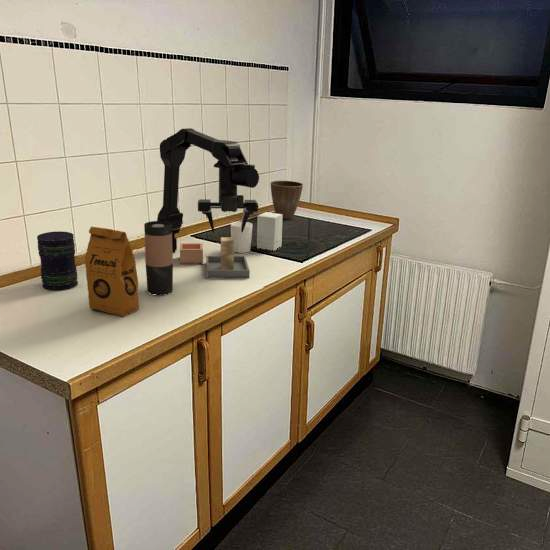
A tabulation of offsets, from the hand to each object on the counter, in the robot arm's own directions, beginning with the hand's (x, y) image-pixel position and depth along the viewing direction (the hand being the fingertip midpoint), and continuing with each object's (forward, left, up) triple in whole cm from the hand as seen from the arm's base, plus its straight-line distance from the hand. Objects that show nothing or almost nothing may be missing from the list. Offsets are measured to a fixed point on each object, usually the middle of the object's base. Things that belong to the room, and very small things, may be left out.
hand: (227, 232), depth 171 cm
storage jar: (-50, -12, -13) cm, 53 cm away
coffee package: (-32, -31, -13) cm, 46 cm away
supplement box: (+17, +26, -13) cm, 34 cm away
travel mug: (-21, -18, -13) cm, 30 cm away
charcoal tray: (0, 0, -13) cm, 13 cm away
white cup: (+6, +22, -13) cm, 26 cm away
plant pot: (+31, +74, -13) cm, 82 cm away
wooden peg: (0, 0, -12) cm, 12 cm away
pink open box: (-12, +11, -13) cm, 20 cm away
